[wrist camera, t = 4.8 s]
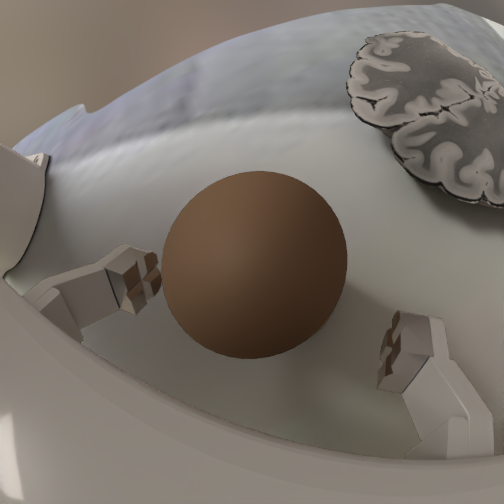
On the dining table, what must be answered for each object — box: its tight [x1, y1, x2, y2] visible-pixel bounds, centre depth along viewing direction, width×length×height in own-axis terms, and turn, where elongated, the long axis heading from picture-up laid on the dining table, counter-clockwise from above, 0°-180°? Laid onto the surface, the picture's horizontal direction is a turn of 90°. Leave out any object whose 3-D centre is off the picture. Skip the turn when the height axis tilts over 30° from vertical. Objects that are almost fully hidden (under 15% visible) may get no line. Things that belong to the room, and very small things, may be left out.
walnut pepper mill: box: [161, 171, 347, 359], centre depth 11 cm, size 5×5×10 cm
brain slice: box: [346, 31, 504, 210], centre depth 15 cm, size 20×17×3 cm
